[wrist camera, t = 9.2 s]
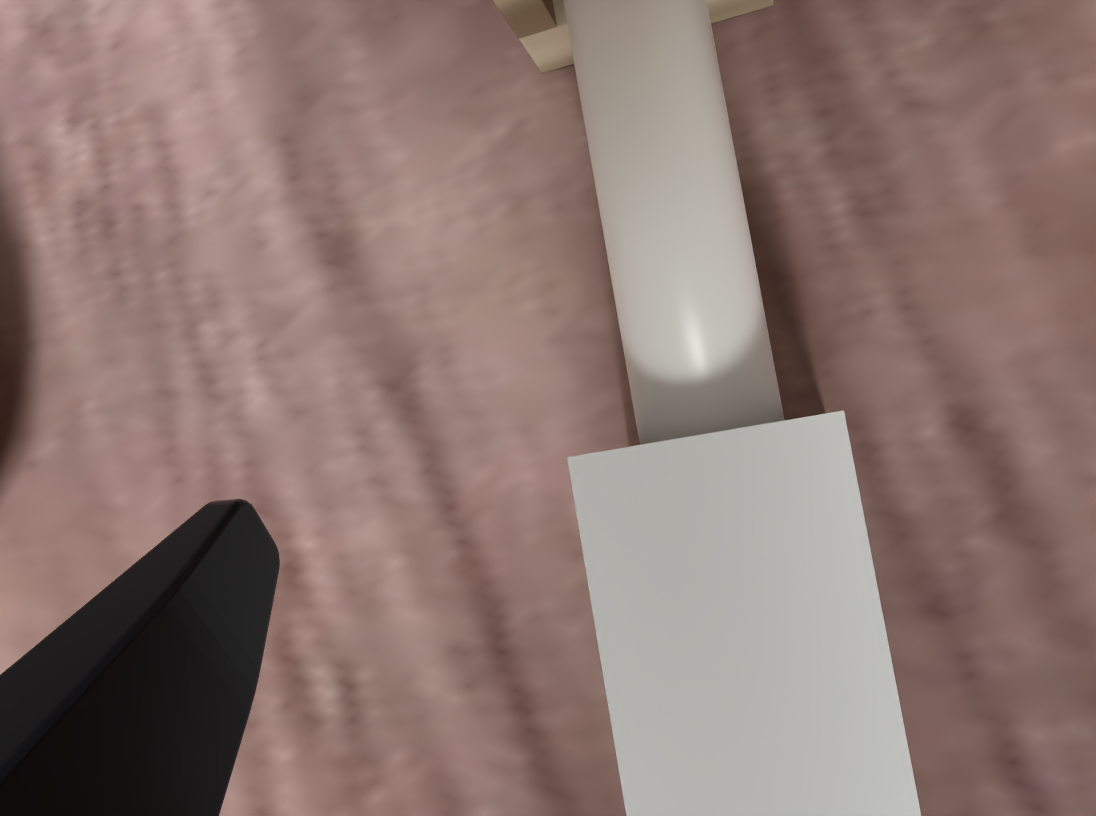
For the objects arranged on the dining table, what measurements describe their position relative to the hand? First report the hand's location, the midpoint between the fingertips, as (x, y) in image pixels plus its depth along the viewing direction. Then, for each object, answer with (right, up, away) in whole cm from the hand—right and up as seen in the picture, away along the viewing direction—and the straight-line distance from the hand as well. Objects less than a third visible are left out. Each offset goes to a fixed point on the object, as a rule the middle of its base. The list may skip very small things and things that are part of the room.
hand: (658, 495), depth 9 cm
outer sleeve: (+4, -4, +13) cm, 14 cm away
